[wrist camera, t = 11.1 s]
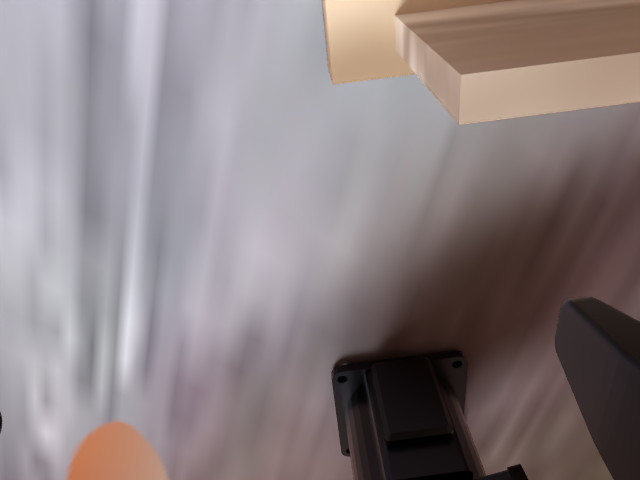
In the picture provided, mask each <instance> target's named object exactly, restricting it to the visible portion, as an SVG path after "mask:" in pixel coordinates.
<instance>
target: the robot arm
mask: <svg viewBox="0 0 640 480" xmlns="http://www.w3.org/2000/svg"><path fill="white" fill-rule="evenodd" d="M555 348H556V352H557V355H558V357H559V360H560V362H561V365H562V367H563V369H564V372H565V374H566V377H567V379H568V381H569V384H570V386H571V389H572V391H573V393H574V396H575V398H576V401H577V403H578V406H579V408H580V410H581V413H582V415H583V418H584V420H585V422H586V425H587V427H588V430H589V432H590V434H591V436H592V439H593V441H594V443H595V445H596V447H597V449H598V451H599V453H600V455H601V457H602V459H603V460H604V462H605V464H606V466H607V468H608V470H609V471H610V473H611V475H612V477H613V479H614V480H640V321H638V320H636V319H634V318H632V317H630V316H628V315H626V314H625V313H623V312H621V311H619V310H617V309H615V308H613V307H611V306H609V305H608V304H606V303H604V302H602V301H600V300H598V299H596V298H594V297H580V298H572V299H567V300H565V301H564V302H563V303H562V305H561V308H560V314H559V319H558V324H557V329H556V335H555ZM454 361H456V362H454ZM331 376H332V384H333V392H334V399H335V407H336V414H337V422H338V430H339V437H340V445H341V452H342V454H343V455H344V456H350V457H351V464H352V471H353V479H354V480H528V478H527V476H526V474H525V472H524V470H523V468H522V466H521V464H518V465H514V466H511V467H507V469H508V470H506V471H502V472H498V473H495V474H491V475H488V476H486V474H485V471H484V468H483V466H482V463H481V460H480V458H479V455H478V452H477V450H476V447H475V444H474V442H473V439H472V436H471V434H470V431H469V428H468V426H467V423H466V420H465V417H464V405H465V391H466V376H467V360H466V357H465V355H464V353H463V352H461V351H450V352H442V353H434V354H427V355H419V356H412V357H404V358H396V359H389V360H381V361H373V362H366V363H358V364H350V365H343V366H338V367H336V368H334V369H333V370H332V373H331ZM339 376H343V377H339ZM1 428H2V416H1V412H0V432H1Z"/></svg>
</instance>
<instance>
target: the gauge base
mask: <svg viewBox="0 0 640 480" xmlns="http://www.w3.org/2000/svg"><path fill="white" fill-rule="evenodd" d="M322 6H323V17H324V28H325V38H326V49H327V60H328V70H329V74H330V77H331V80H332V83H333V84H340V83H348V82H356V81H364V80H372V79H380V78H388V77H396V76H404V75H411V74H416V75H417V76H418V77H419V79H420V80H421V81H422V82H423V83H424V84H425V86H426V87H427V88H428V89H429V90H430V91H431V93H432V94H433V95H434V96H435V97H436V99H437V100H438V101H439V102H440V103H441V104H442V106H443V107H444V108H445V109H446V110H447V111H448V113H449V114H450V115H451V116H452V117H453V119H454V120H455V121H456V122H457V123H458V124H459V125H462V124H469V123H477V122H485V121H493V120H501V119H509V118H516V117H524V116H532V115H540V114H548V113H556V112H564V111H571V110H579V109H587V108H595V107H603V106H611V105H618V104H626V103H634V102H640V0H322Z"/></svg>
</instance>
